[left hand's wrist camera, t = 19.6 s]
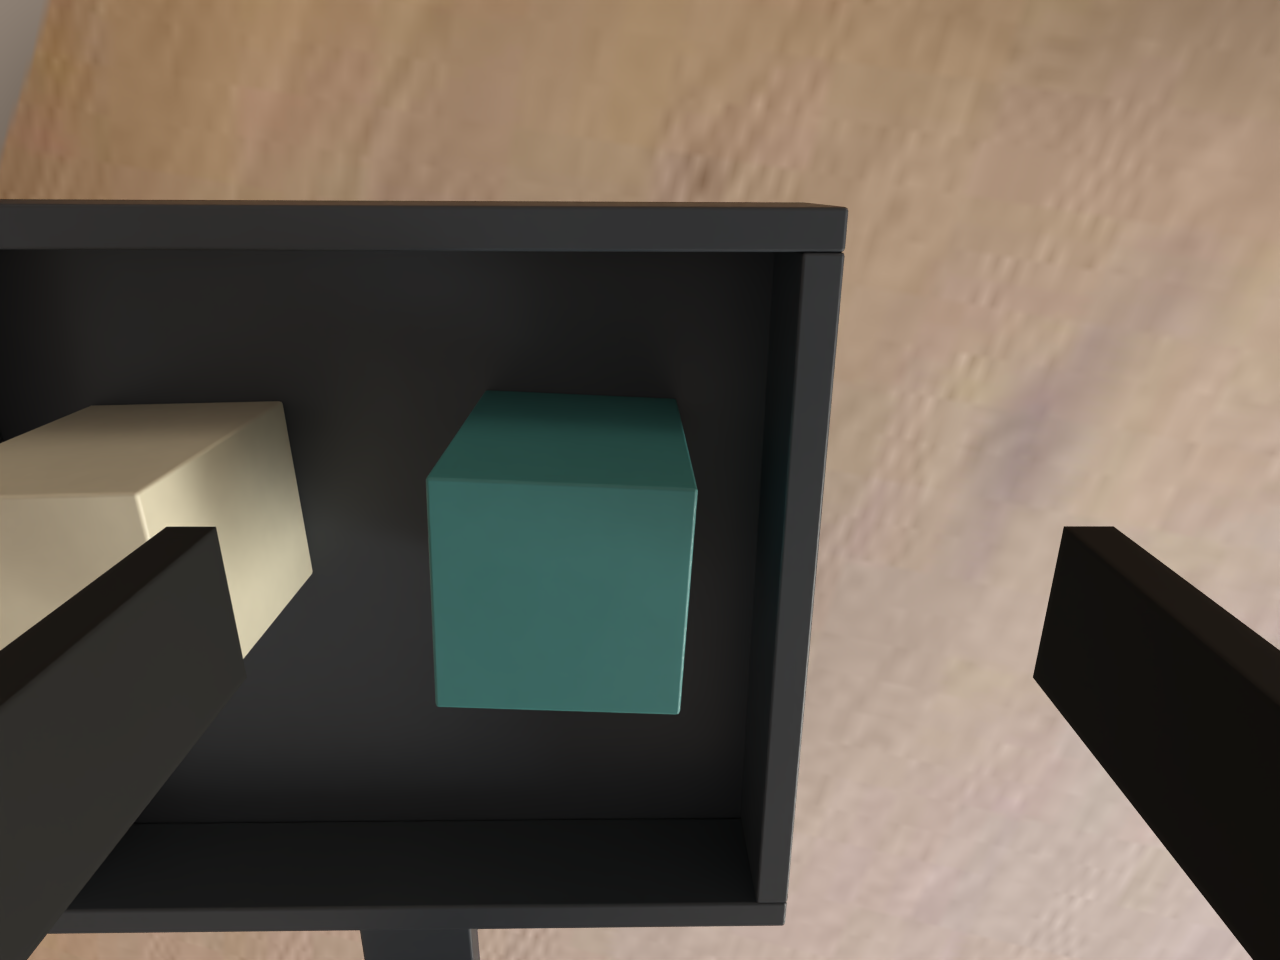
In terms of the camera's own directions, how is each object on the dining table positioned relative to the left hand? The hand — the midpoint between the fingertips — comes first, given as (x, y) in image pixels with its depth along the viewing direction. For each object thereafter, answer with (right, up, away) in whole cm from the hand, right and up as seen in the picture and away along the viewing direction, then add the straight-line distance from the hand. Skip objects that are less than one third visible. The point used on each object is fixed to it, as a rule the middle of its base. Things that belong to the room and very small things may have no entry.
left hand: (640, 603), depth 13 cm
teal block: (-2, +2, +7) cm, 7 cm away
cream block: (-10, +2, +7) cm, 13 cm away
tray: (-6, -4, +10) cm, 12 cm away
